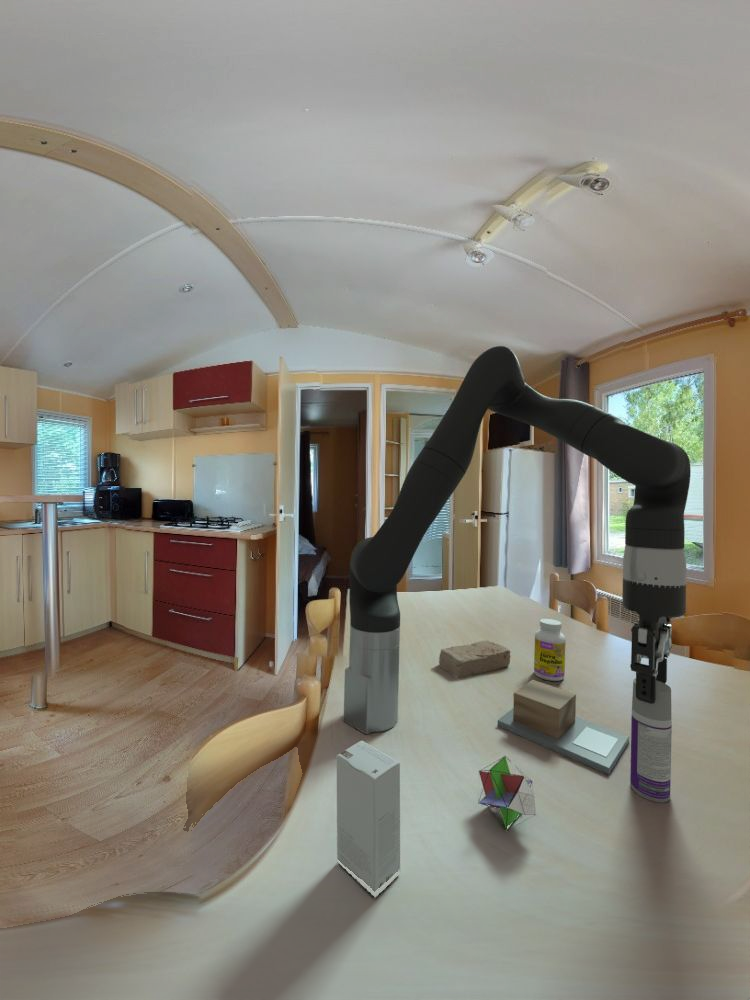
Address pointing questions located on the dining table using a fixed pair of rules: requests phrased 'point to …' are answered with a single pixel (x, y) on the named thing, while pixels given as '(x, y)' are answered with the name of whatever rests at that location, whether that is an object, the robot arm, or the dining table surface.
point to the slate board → (577, 741)
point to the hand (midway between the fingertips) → (651, 690)
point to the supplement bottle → (549, 651)
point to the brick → (474, 658)
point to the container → (651, 745)
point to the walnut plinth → (544, 708)
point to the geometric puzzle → (507, 792)
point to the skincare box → (368, 813)
